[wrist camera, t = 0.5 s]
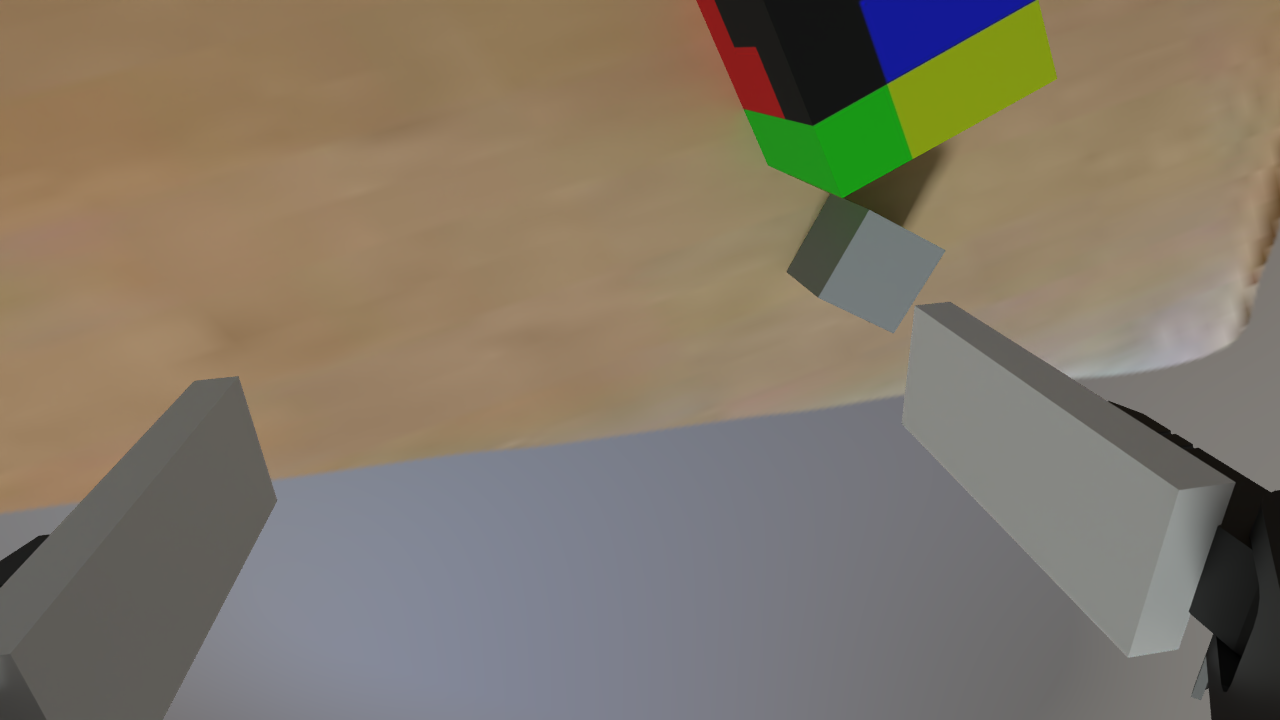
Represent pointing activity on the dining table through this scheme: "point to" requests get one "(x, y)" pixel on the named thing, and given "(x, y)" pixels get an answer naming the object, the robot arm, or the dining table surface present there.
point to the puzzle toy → (873, 76)
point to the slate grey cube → (864, 263)
